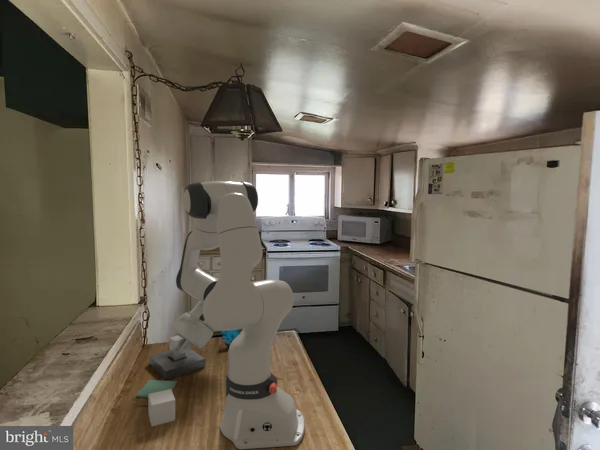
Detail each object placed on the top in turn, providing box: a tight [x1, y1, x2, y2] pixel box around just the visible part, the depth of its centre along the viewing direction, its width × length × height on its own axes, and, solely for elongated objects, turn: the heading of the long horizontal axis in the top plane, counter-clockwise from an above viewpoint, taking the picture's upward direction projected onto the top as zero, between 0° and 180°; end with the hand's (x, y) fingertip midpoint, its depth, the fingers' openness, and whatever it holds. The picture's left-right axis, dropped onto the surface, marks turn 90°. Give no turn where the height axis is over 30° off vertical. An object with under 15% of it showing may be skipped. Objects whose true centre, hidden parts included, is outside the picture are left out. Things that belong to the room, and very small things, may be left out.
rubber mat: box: [135, 379, 178, 399], centre depth 111 cm, size 9×9×1 cm
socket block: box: [149, 347, 206, 381], centre depth 127 cm, size 14×14×3 cm
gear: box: [220, 329, 241, 346], centre depth 147 cm, size 11×6×10 cm
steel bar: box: [169, 335, 186, 362], centre depth 127 cm, size 4×4×10 cm
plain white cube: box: [147, 389, 176, 427], centre depth 98 cm, size 6×6×6 cm
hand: (175, 349), depth 126 cm, fingers closed on steel bar, 4 cm apart
